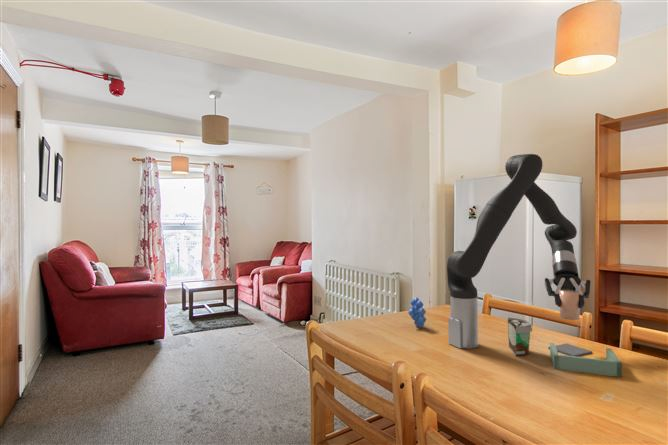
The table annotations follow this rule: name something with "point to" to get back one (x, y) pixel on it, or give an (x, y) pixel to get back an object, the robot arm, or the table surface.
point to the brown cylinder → (569, 304)
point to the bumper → (587, 363)
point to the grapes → (417, 312)
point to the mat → (571, 350)
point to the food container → (519, 336)
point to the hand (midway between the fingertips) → (570, 306)
